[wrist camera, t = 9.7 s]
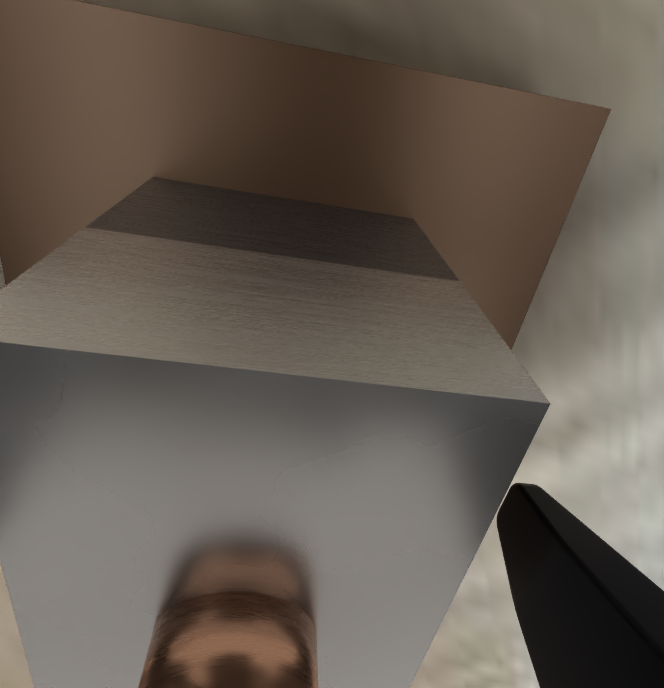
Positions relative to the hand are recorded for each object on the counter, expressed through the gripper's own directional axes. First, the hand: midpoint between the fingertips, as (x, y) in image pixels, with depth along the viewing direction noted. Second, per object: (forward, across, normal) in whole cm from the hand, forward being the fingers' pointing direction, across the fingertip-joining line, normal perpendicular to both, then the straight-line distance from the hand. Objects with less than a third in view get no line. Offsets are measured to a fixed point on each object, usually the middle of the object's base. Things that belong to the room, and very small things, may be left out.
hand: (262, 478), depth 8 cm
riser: (+6, 0, 0) cm, 6 cm away
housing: (+3, 0, 0) cm, 3 cm away
